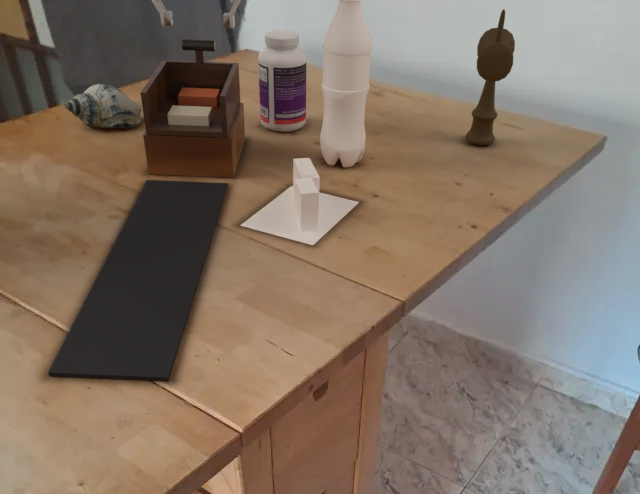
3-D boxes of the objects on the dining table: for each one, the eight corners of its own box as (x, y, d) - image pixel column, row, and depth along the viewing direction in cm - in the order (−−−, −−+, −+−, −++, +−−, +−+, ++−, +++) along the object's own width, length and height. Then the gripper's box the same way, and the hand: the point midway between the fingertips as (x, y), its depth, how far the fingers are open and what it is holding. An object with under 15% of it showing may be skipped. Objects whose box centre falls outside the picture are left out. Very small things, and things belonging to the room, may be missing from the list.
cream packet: (209, 126, 101) (208, 116, 100) (168, 124, 101) (167, 114, 100) (212, 117, 104) (212, 106, 103) (173, 115, 104) (172, 105, 103)
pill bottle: (313, 122, 123) (315, 32, 113) (293, 137, 117) (293, 43, 107) (273, 114, 125) (271, 25, 115) (251, 128, 120) (248, 36, 110)
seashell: (143, 137, 119) (71, 139, 117) (141, 105, 122) (71, 106, 120) (138, 108, 113) (62, 109, 111) (137, 75, 116) (63, 75, 114)
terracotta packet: (217, 107, 107) (216, 97, 106) (178, 105, 107) (177, 95, 106) (220, 98, 110) (219, 88, 109) (183, 97, 110) (182, 87, 109)
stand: (233, 177, 104) (231, 138, 100) (148, 174, 104) (142, 134, 100) (245, 139, 116) (243, 102, 112) (168, 136, 116) (164, 99, 112)
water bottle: (317, 152, 113) (323, -28, 96) (361, 152, 113) (373, -26, 96) (321, 170, 107) (326, -17, 90) (366, 170, 108) (380, -16, 91)
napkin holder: (290, 185, 103) (290, 147, 99) (359, 201, 100) (362, 162, 96) (239, 226, 93) (237, 185, 89) (314, 245, 90) (315, 204, 86)
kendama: (497, 134, 121) (523, 4, 108) (496, 154, 114) (524, 18, 101) (463, 130, 122) (485, 1, 108) (460, 150, 115) (483, 14, 102)
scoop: (227, 137, 100) (223, 71, 94) (146, 134, 100) (136, 67, 94) (240, 100, 112) (237, 39, 106) (167, 97, 112) (160, 36, 106)
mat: (168, 381, 69) (168, 377, 68) (49, 376, 69) (47, 372, 68) (227, 186, 102) (227, 183, 102) (147, 183, 102) (146, 179, 102)
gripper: (108, -86, 93) (125, 29, 102) (259, -81, 93) (262, 34, 102) (119, -92, 97) (135, 18, 107) (263, -87, 97) (266, 23, 107)
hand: (198, 26), depth 104 cm, fingers open, 8 cm apart
